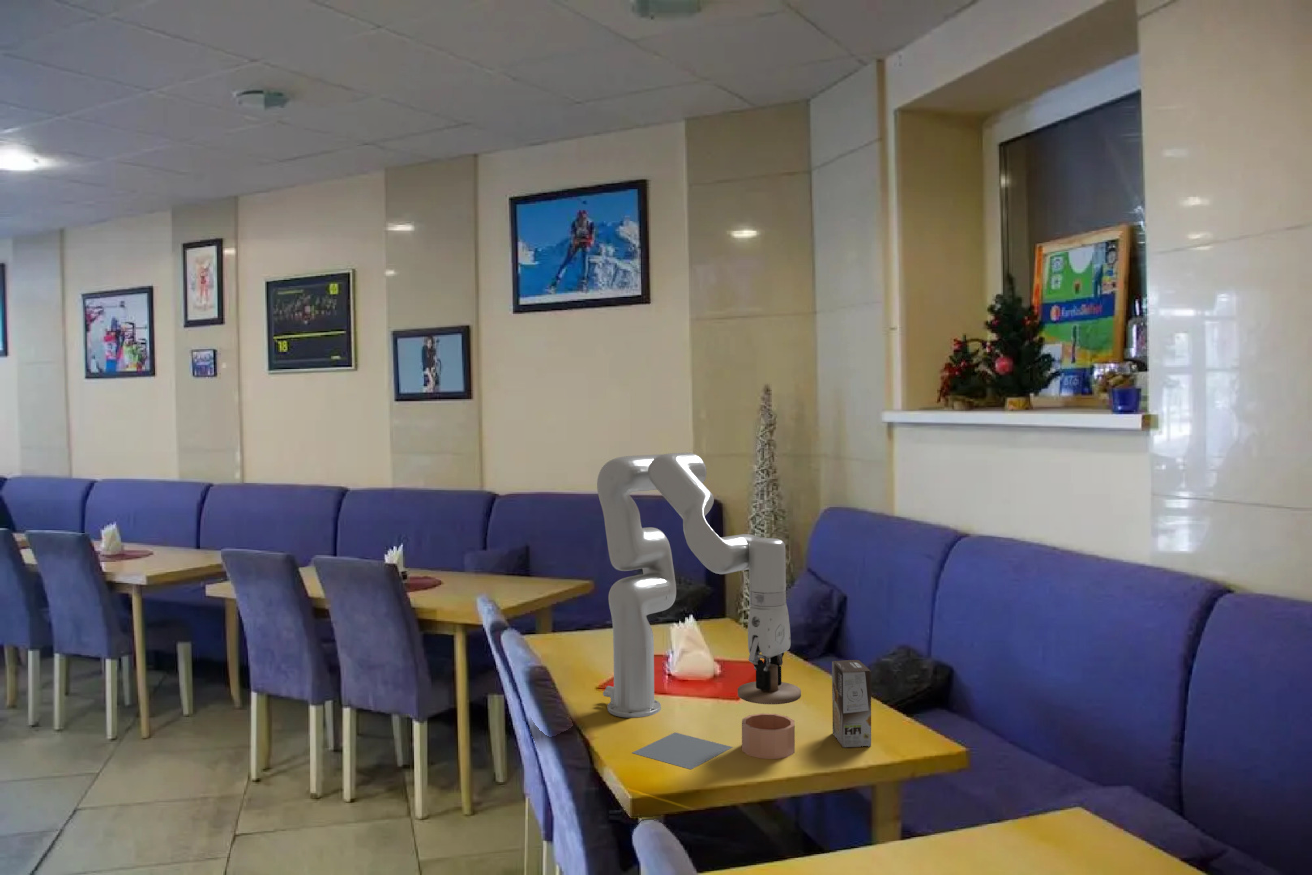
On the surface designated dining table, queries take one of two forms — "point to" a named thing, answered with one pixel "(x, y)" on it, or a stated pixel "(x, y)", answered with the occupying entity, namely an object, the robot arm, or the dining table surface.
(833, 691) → the coffee box
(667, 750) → the mat
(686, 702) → the dining table surface
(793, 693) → the lid
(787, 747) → the bowl
